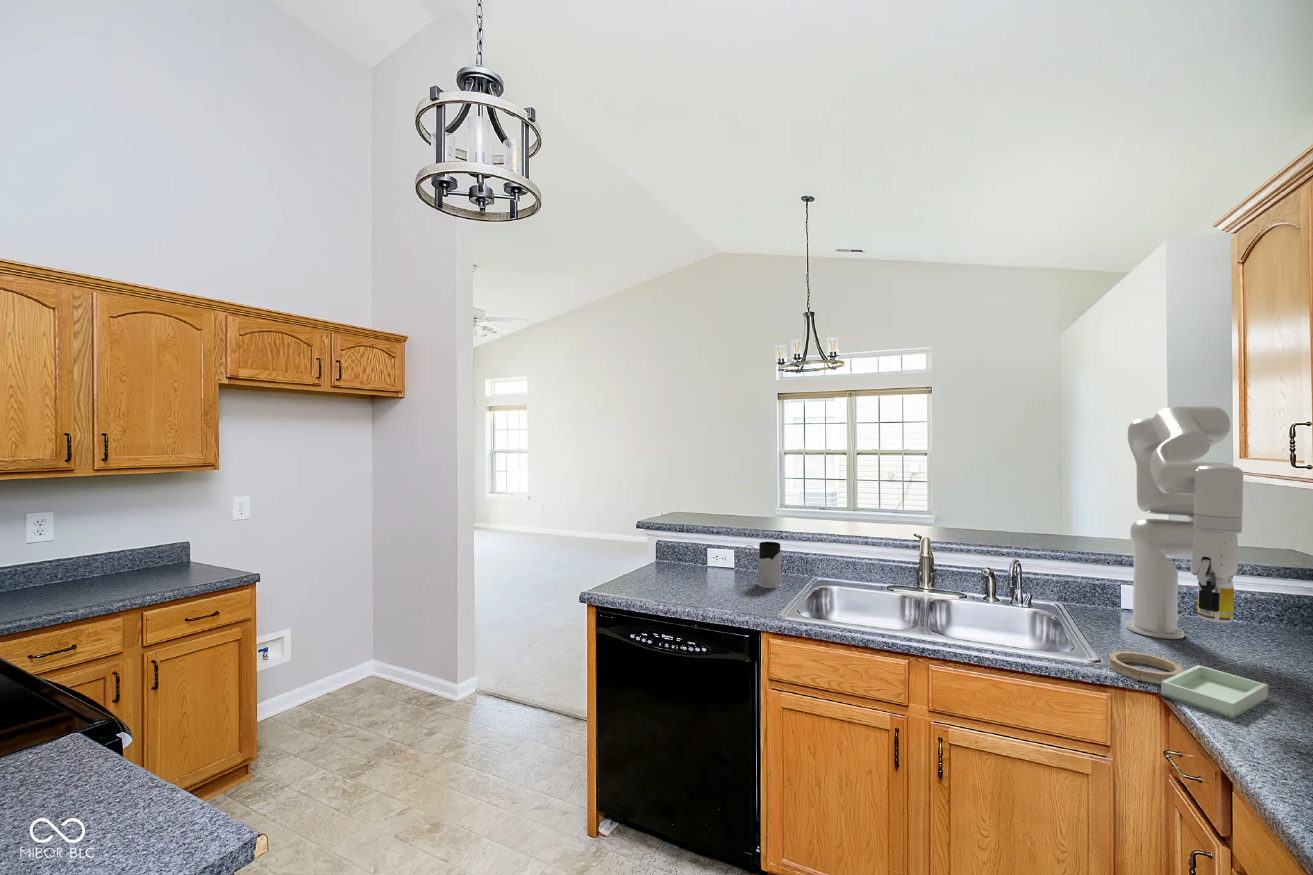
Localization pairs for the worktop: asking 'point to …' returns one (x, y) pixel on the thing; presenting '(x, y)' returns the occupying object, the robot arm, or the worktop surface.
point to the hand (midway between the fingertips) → (1215, 606)
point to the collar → (1142, 658)
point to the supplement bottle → (1220, 603)
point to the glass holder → (768, 564)
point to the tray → (1215, 691)
